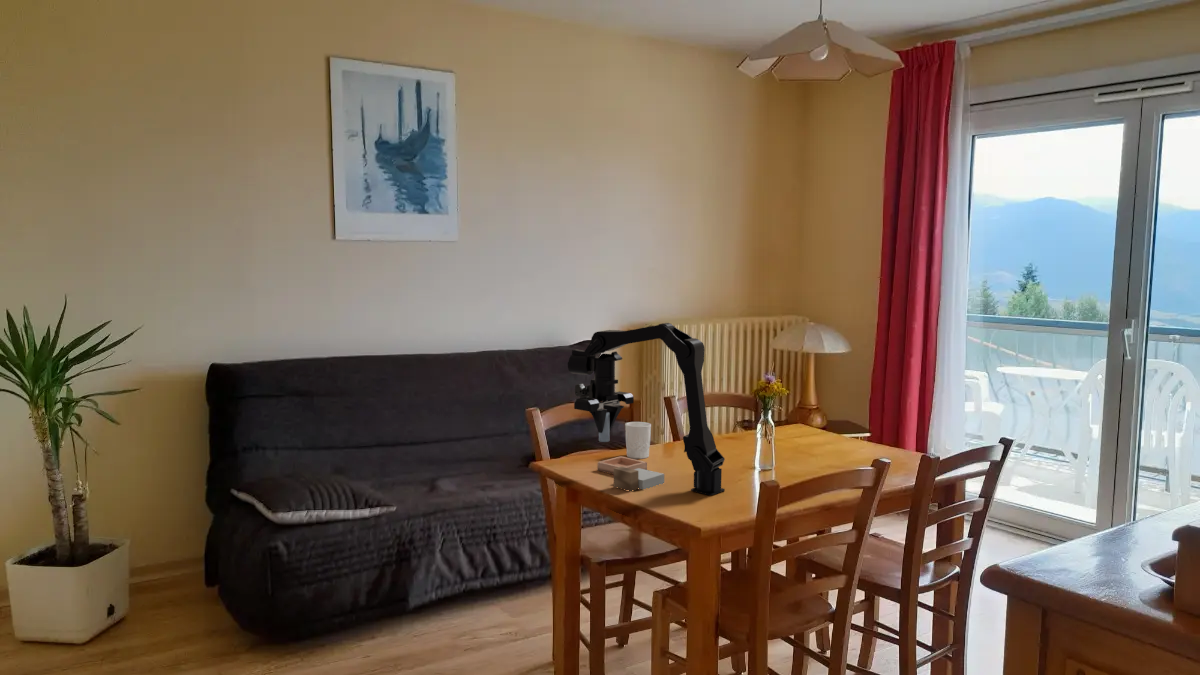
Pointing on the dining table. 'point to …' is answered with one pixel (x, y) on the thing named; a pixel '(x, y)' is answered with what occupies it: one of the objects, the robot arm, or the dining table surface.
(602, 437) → the dowel
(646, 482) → the flat grey square block
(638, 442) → the white cup
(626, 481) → the block
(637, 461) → the tray
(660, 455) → the dining table surface
